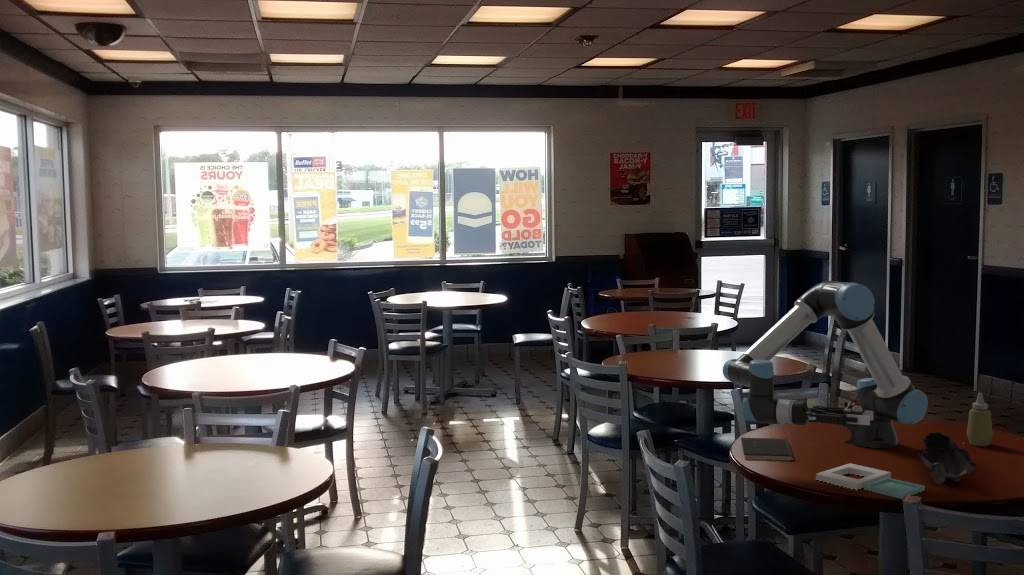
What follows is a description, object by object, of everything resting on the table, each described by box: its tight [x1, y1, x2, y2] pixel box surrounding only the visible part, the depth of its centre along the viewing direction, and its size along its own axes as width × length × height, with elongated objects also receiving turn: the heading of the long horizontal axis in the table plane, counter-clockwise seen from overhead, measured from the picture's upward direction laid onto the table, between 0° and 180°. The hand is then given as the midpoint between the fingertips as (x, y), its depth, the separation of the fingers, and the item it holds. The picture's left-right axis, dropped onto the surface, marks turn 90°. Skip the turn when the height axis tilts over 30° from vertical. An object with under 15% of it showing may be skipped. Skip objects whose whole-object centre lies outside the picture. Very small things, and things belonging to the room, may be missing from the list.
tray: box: [863, 477, 926, 500], centre depth 276 cm, size 12×12×1 cm
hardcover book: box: [740, 437, 795, 461], centre depth 323 cm, size 16×23×2 cm
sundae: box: [842, 395, 865, 446], centre depth 286 cm, size 7×7×15 cm
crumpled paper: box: [918, 431, 977, 485], centre depth 286 cm, size 14×15×20 cm
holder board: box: [815, 462, 892, 491], centre depth 287 cm, size 18×14×2 cm
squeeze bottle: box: [966, 392, 994, 447], centre depth 324 cm, size 8×8×18 cm
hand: (871, 418), depth 283 cm, fingers closed on sundae, 6 cm apart
